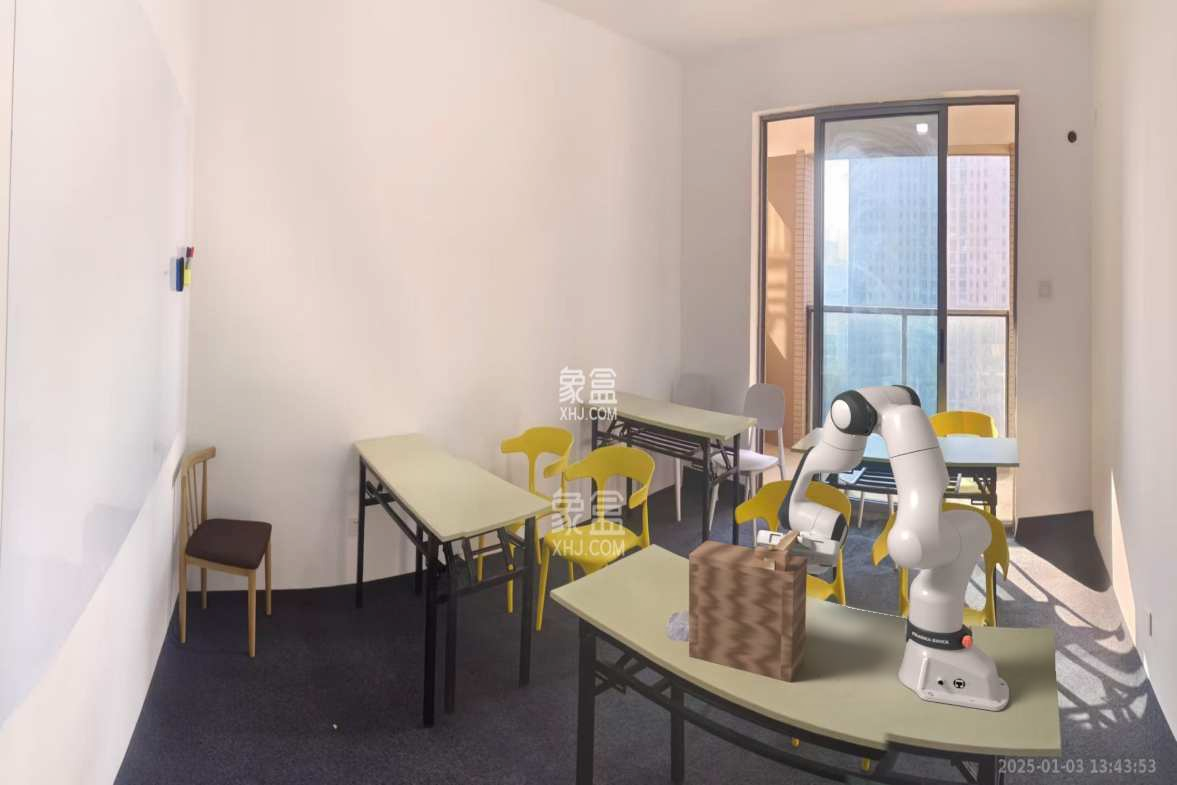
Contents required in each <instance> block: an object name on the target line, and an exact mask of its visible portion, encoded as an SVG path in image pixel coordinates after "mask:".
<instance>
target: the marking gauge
mask: <svg viewBox="0 0 1177 785" xmlns="http://www.w3.org/2000/svg"><path fill="white" fill-rule="evenodd" d="M785 534H786V535H785V536H784V538H783V539H782V540H781V541H780V542H779V543H778V544H777V545H776V546H774V545H769V546H768V548H767V547H763V546H761V545H757V546H756V547H755V567H761V568H764V569H769V570H777V571H783V572H785V571H786V570H787V569H788V554H789V553H790V552H791V551H792V549H793V548H794V547H795V546H796V545H797V543H796V539H797V538H796V537H797V536H800V532H799V531H792V530H790V531H789V530H788V532H787V533H785Z"/></svg>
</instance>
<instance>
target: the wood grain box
mask: <svg viewBox="0 0 1177 785" xmlns="http://www.w3.org/2000/svg"><path fill="white" fill-rule="evenodd" d="M755 549H756V547H748V546H742V545H736V544H731V543H726V542H718V541H714V540H705V541H704V542H703V543H701V545H699V546H698V547H696V548H695V549H694V550H693V551H692V552H691V553H689V554H688V593H689V594H688V611H689V641H688V656H689V658H695V659H698V660H702V661H706V662H708V663H713V664H717V665H721V666H726V667H729V668H733V669H737V670H741V671H744V672H748V673H752V674H756V675H760V676H763V677H768V678H772V679H774V680H778V681H783V682H787V683H792V682H793V680H794V679H795V677H796V676H797V674H798V672H799V670H800V669H801V667H802V666H803V664H804V663H805V659H806V658H805V654H806V653H805V652H806V651H805V650H806V647H805V646H806V616H807V615H806V610H807V576H808V575H807V574H808V572H807V557H801V556H795V555H789V554H788V569H787V570H786V571H785V572H783V571H777V570H769V569H764V568H761V567H755Z"/></svg>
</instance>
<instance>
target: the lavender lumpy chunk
mask: <svg viewBox="0 0 1177 785" xmlns="http://www.w3.org/2000/svg"><path fill="white" fill-rule="evenodd" d="M670 616H671V617H669V619H668V621H667V624H666V626H665V627H666V632H667V633H666V634H667V635H668V638H669V639H670V640H671V641H676V642H689V610H683V611H677V612H674V613H672V614H671V615H670Z"/></svg>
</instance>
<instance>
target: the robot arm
mask: <svg viewBox="0 0 1177 785" xmlns="http://www.w3.org/2000/svg"><path fill="white" fill-rule="evenodd" d="M830 404H831V405H830V408H829V411H828V412H827V415H826V418H825V420H824V423H823V426H822V431H821V435H820V438H819V441H818V443H817V444H816V445H813V446H809V448H807V449H806V451H805V452H804V453H803V454H802V457H801V459H800V460H799V463H798V465H797V468H796V470H795V473H794V475H793V477H792V480H791V483H790V484H789V487H788V490H787V492H786V493H785V496H784V498H783V500H782V502H781V504H780V506H779V507H778V511H777V515H776V516H777V519H778V522H779V524H780V526H781V527H782V529H783V530H786V531H788V532H789V531H790V530H792V531H799V532H800V536H797V537H796V538H797V539H796V543H797V545H796V546H795V547H794V548H793V549H792V551H791V552H790V553H789V555H795V556H801V557H807V574H813V575H820V574H824V573H825V572H827V570H828V569H830V568H836V567H837V565H838V562H839V558H840V552H841V550H842V548H843V546H844V544H845V541H846V540H847V536H848V532H849V526H848V521H847V518H846V516H845V514H844V513H842V512H840V511H838V510H835V509H833V508H831V507H828V506H825V505H823V504H820V503H818V502H815V501H814V500H811V499H809V498H808V497H807V496H806V493H807V491H808V488H809V486H810V484H811V481H812V478H813V476H814V475H816V474H842V473H846V472H850V471H852V470H853V469H855V468H857V467H858V466H859V464H861V462H862V459H863V457H864V455H865V451H866V448H867V443H868V438H869V437H870V436H871V434H877V435H878V436H880V437H881V438H882V440H883V441H884V444H885V447H886V448H885V449H886V451H887V455H888V459H889V463H890V466H891V471H892V474H893V475H892V476H893V479H894V482H895V486H896V492H897V511H896V515H895V516H896V517H895V521H894V524H893V525H892V527H891V528H890V530H889V532H888V534H887V538H886V539H887V541H886V546H887V547H886V548H887V550H888V553H889V556H890V558H891V559H892V560H893V562H894V563H895V564H896V565H897V566H899V567H900V568H902V569H904V570H913V571H914V570H918V571H919V570H921V571H919V573H918V574H917V576H915V577H914V579H913V580H912V582H911V584H910V588H909V601H908V615H907V617H906V619H905V628H904V629H905V630H904V633H905V634H904V637H905V643H906V644H905V649H904V653H903V659H902V662H901V665H900V667H899V670H898V672H897V676H898V678H899V680H900V682H901V683H902V684H904V685H905V686H906V687H907V688H909V689H911V690H912V691H913V692H915V693H916V694H917V695H918V696H919V697H920V698H921V699H922V700H925V701H929V702H934V703H941V704H942V703H943V704H947V705H948V704H949V705H953V706H961V707H967V708H973V709H974V708H975V709H980V710H985V711H986V710H987V711H993V712H998V711H1001V710H1003V709H1004V708H1006V707H1007V705H1008V704H1009V702H1010V700H1009V699H1010V689H1009V685H1008V684H1007V682H1006V681H1005V680H1004V679H1003V678H1002V677H1000V676H999V673H998V669H997V666H996V662H994V660H993V658H991V657H990V656H989V655H988V654H986V653H985V652H984V651H983V650H982V649H981V648H979V647H978V646H977V645H976V644H974V639H973V629H972V626H971V625H969V627H967V626H966V625H965V624H964V623H963V622H964V611H965V599H966V592H967V590H968V589H967V588H968V587H969V583H970V580H971V578H972V575H973V572H974V570H975V569H976V566H977V563H978V561H979V559H980V558H981V556H982V555H983V553H984V552H985V551H986V550H987V549H988V548H989V547H990V545H991V542H992V539H993V534H992V527H991V526H990V524H989V522H988V519H986V518H985V517H984V516H983V515H982V514H981V513H979V512H977V511H974V510H970V509H951V510H946V511H943V498H944V493H945V492H946V491H947V489H948V488H949V485H950V482H951V478H950V475H949V471H948V468H947V465H946V461H945V459H944V454H943V451H942V448H941V445H940V442H939V439H938V437H937V434H936V431H935V429H934V427H933V425H932V422H931V420H930V418H929V417H928V414H927V413H926V411H925V410H924V409H923V408H922V403H921V400H920V397H919V394H918V393H917V392H916V390H914V389H913V388H911V387H910V386H908V385H902V384H893V385H892V384H891V385H881V386H880V385H879V386H876V385H872V386H865V387H860V388H857V389H849V390H845V391H843V392H841V393H838V394H837V395H836V396H835V397H834V398H833V400H832V401H831V403H830ZM786 534H787V533H784V532H779V531H772V530H771V531H770V530H764V529H759V530H758V533H757V536H756V543H757V545H758V546H761V547H767V548H768V546H769V545H774V546H776V545H777V544H778V543H779V542H780V541H781V540H782V539H783V538H784V536H785V535H786Z"/></svg>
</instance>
